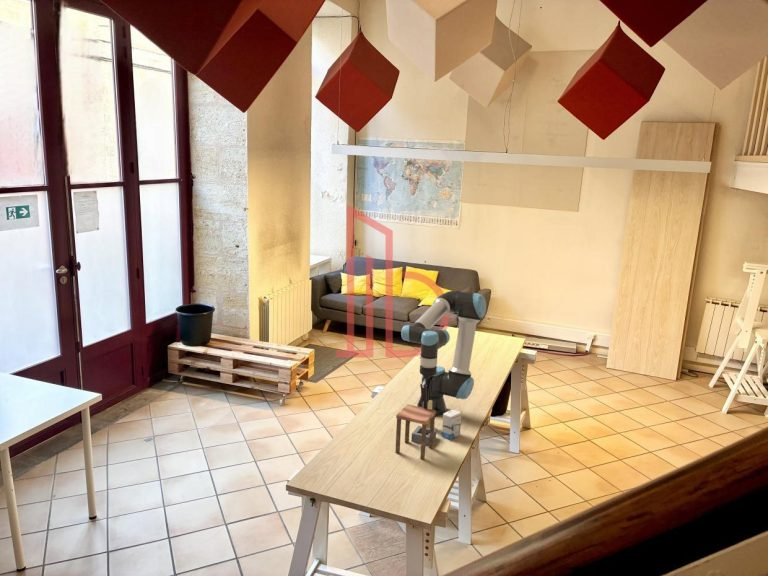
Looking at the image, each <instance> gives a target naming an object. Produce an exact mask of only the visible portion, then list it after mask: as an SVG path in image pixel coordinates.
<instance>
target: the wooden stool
mask: <svg viewBox="0 0 768 576" xmlns="http://www.w3.org/2000/svg"><path fill="white" fill-rule="evenodd" d="M435 414H436V410H431V409H425V408H422V407H418V406H417V405H412V404H407V403H406V405H405V406H404V407H403V408H401V410H400V411H399V412H398V413H397V414H395V415H396V416H395V417H396V418H395V419H396V432H395V452H394V453H396V454H399V453H400V452H401V434H402V433H401V431H402V420H404V421H405V427H404V428H405V429H404V430H405V431H404V443H407V444H408V443H409V442H410V429H411V428H410V425H411V423H416V424H421V426H422V438H421V443H420V459H421V460H423V461H424V460H425V458H426V446H427V445H426V426H427V423H428V422H429V421H430V438H429V445H428V448H429V449H430V450H432V449H434V440H435V439H434V429H435V420H436V416H435Z"/></svg>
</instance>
